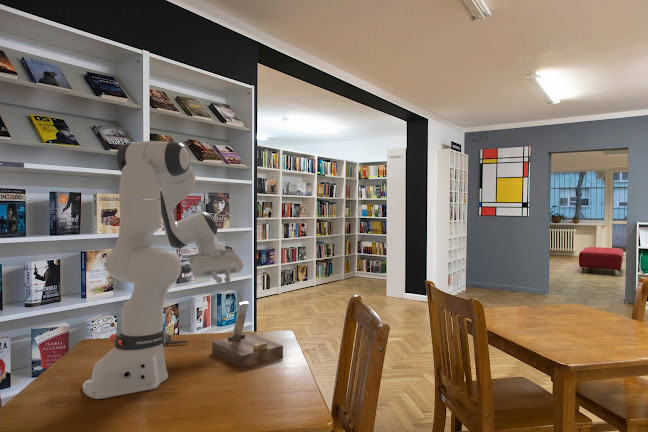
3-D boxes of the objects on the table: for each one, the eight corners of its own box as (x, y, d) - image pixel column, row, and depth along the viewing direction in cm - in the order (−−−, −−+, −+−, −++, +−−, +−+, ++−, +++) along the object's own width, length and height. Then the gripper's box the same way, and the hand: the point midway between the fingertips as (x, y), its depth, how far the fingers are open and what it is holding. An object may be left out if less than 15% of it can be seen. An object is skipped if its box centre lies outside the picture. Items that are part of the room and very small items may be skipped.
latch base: (242, 368, 137) (242, 350, 137) (212, 352, 152) (212, 336, 152) (282, 357, 148) (283, 340, 148) (251, 343, 163) (251, 328, 163)
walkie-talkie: (129, 349, 157) (187, 346, 161) (129, 337, 157) (187, 334, 161) (134, 342, 166) (189, 339, 170) (134, 330, 165) (189, 328, 170)
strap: (240, 304, 150) (239, 302, 151) (233, 339, 154) (231, 338, 155) (248, 302, 153) (247, 301, 153) (241, 338, 156) (239, 336, 157)
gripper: (189, 249, 161) (200, 279, 154) (237, 247, 174) (250, 274, 167) (183, 260, 164) (195, 290, 157) (231, 257, 178) (244, 284, 171)
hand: (224, 281), depth 162 cm, fingers open, 2 cm apart
